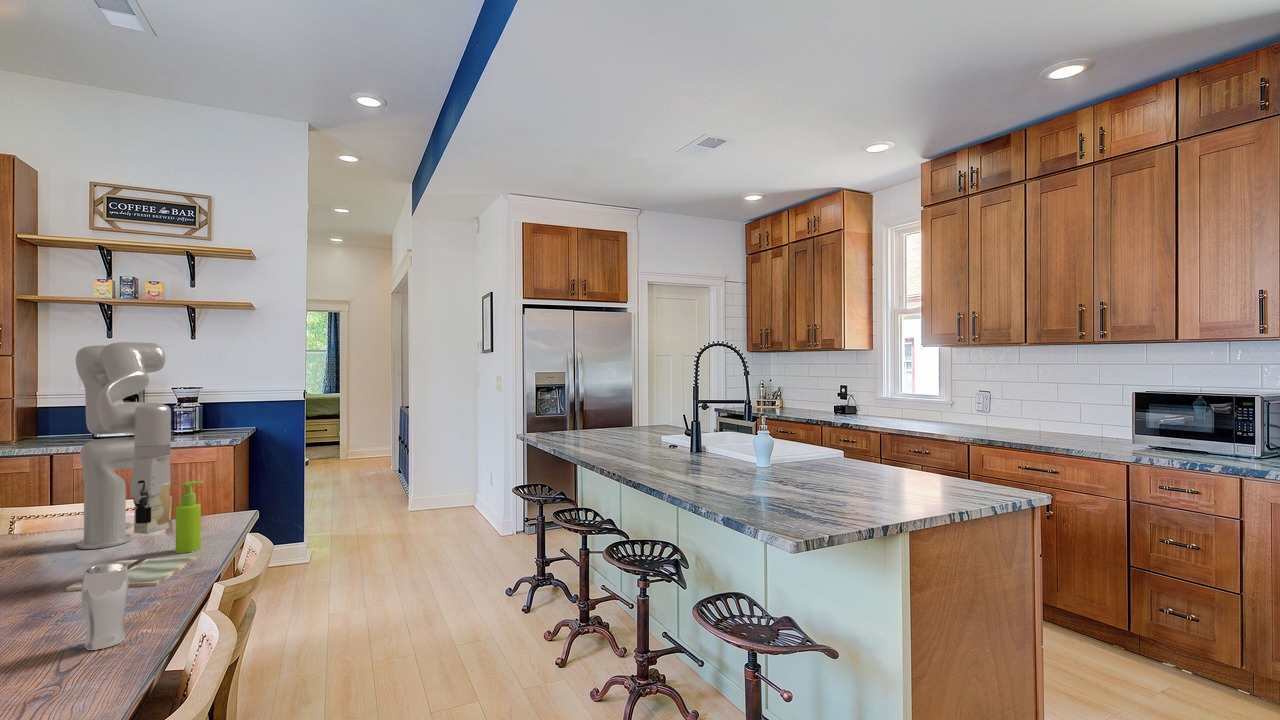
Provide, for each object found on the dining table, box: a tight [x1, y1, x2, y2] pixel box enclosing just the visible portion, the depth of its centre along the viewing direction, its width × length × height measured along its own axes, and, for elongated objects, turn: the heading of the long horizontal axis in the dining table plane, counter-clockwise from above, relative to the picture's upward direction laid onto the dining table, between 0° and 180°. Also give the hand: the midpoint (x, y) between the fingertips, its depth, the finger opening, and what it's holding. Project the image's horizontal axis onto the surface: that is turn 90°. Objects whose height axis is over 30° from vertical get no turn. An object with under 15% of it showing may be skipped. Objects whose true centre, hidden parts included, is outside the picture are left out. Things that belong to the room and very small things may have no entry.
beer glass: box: [81, 562, 129, 649], centre depth 120 cm, size 7×7×15 cm
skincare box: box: [133, 483, 171, 535], centre depth 160 cm, size 6×4×12 cm
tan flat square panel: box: [65, 556, 197, 592], centre depth 159 cm, size 20×19×1 cm
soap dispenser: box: [175, 480, 205, 554], centre depth 179 cm, size 6×7×20 cm
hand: (152, 518), depth 160 cm, fingers closed on skincare box, 7 cm apart
